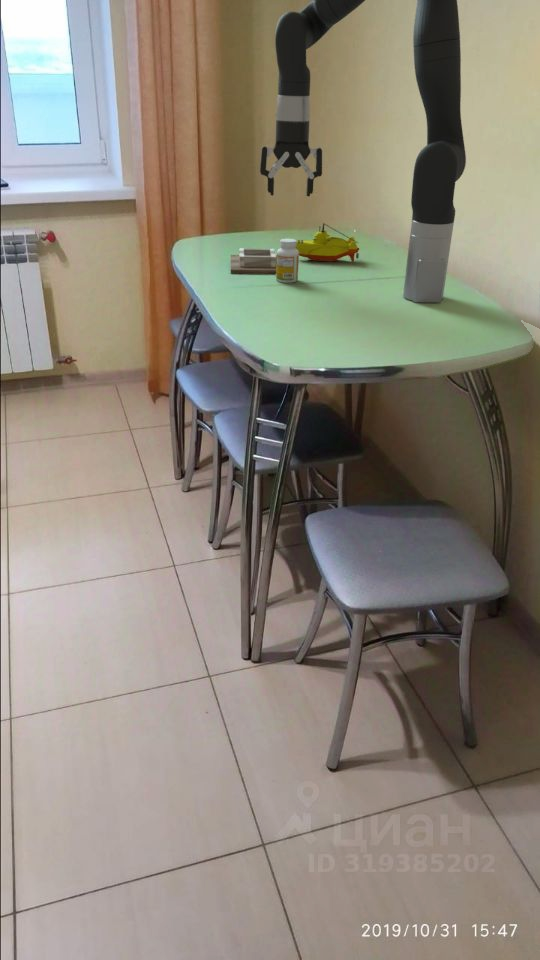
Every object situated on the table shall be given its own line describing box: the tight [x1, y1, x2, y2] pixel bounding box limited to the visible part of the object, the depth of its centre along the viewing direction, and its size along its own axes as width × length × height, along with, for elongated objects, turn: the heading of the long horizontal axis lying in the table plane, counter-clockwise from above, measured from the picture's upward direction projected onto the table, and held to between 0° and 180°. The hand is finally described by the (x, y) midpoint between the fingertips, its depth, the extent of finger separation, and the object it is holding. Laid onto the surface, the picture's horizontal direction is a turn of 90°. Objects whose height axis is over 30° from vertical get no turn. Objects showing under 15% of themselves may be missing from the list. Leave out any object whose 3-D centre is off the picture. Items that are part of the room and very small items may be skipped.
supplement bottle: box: [275, 238, 300, 284], centre depth 177 cm, size 5×5×10 cm
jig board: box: [230, 247, 277, 275], centre depth 190 cm, size 16×14×4 cm
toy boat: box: [295, 222, 360, 262], centre depth 195 cm, size 6×18×10 cm, turn 89°
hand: (290, 195), depth 169 cm, fingers open, 8 cm apart
